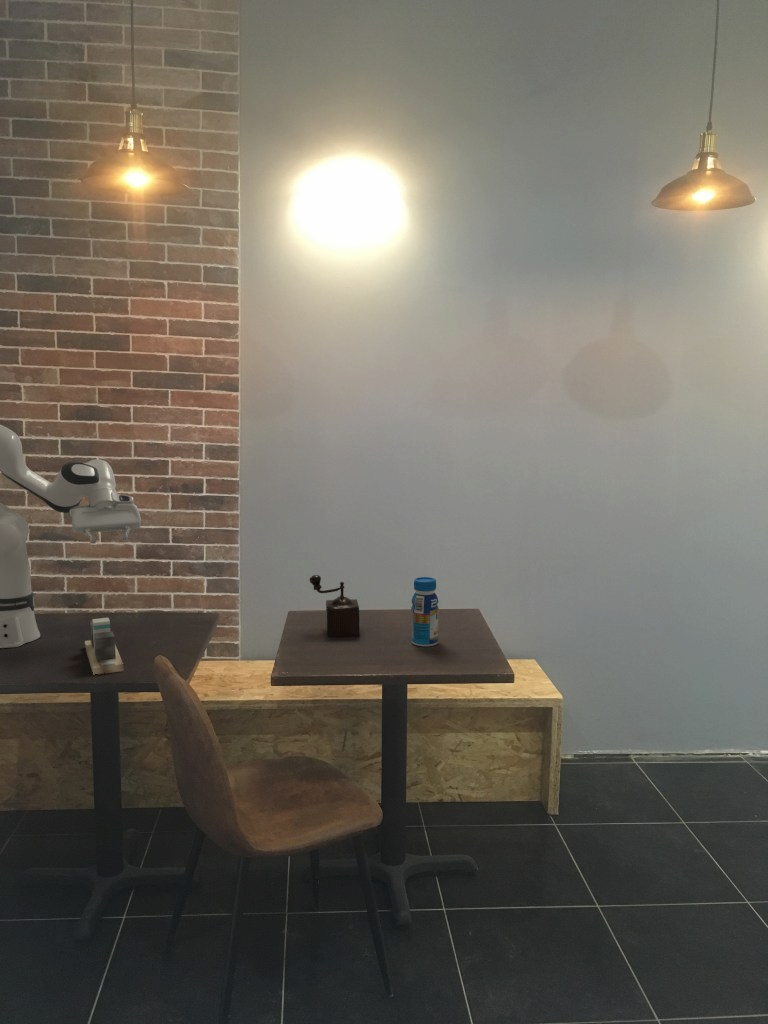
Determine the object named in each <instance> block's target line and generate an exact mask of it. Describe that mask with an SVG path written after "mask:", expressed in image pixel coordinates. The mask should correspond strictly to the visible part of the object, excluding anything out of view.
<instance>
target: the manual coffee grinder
mask: <svg viewBox="0 0 768 1024" xmlns="http://www.w3.org/2000/svg"><path fill="white" fill-rule="evenodd" d="M321 581H322V577H321V575H318V574H313V575H311V576H310V577H309V583H310V584H311V585H312V586H313V590H314V591H316V592H318V594H328V593H333V592H337V591H340V595H339V596H337V597H336V598H335V599H326V601H325V635H326V637H327V638H347V637H348V638H349V637H351V638H352V637H360V636H361V635H360V634H361V633H360V606H359V602H358V599H351V598H349V597H347V596H345V595H344V589H345V582H344V581H340V583H339V585H340V586H339V587H336V588H332V589H327V590H321V589H322V588H323V587H322V585H321Z"/></svg>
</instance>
